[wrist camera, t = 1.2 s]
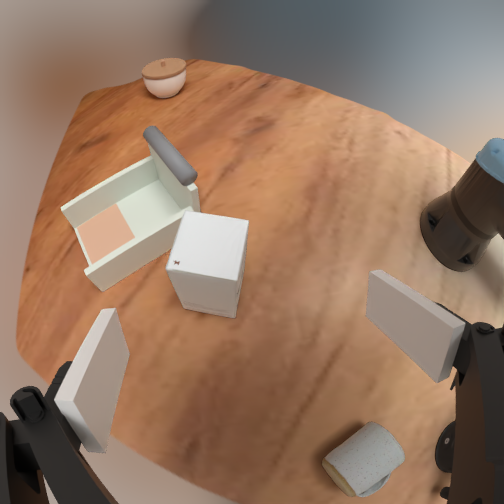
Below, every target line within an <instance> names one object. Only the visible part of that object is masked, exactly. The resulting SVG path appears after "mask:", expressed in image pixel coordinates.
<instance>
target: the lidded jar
mask: <svg viewBox="0 0 504 504" xmlns="http://www.w3.org/2000/svg"><path fill="white" fill-rule="evenodd" d="M142 76H143V79H144V83H145V86H146V88H147V89H148V91H149V92H150V93H152V94H153V95H155V96H156V97H158V98H168V97H172V96H174V95H176V94H177V93H178V92H179V90H180V89H181V88H182V87H183V85H184V83H185V79H186V62H185V61H184V60H182V59H178V58H166V59H160V60H157V61H154V62H151V63H149V64H148V65H146V66H145V67H144V68H143V69H142Z"/></svg>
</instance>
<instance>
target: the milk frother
mask: <svg viewBox="0 0 504 504" xmlns="http://www.w3.org/2000/svg"><path fill="white" fill-rule="evenodd" d="M455 426H456V421H454V422H452V423H451V424H450V425H449V426H448V427H447V428H446V429H445V430H444V431H443V433H442V435H441V437H440V439H439V441H438V444H437V447H436V462H437V465H438V467H439V468H440V469H441V470H442V471H444V472H447V473H452V467H453V458H454V445H455ZM449 490H450V487H444V488H443V489H442V490H441V492H440V496H441V497H442V498H444V499H447V500H448V496H449Z"/></svg>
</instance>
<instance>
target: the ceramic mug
mask: <svg viewBox="0 0 504 504" xmlns="http://www.w3.org/2000/svg"><path fill="white" fill-rule="evenodd" d="M404 460H405V454H404V451H403V449H402V447H401V446H400V444H399V443H398V442H397V440H396V439H395V438H394V436H393V435H392V434H391V433H390V432H389V431H388V430H386V429H385V428H384V427H382V426H381V425H379V424H377V423H375V422H368V423H367V424H366V425H364V426H363V427H362V428H361V429H360V430H358V431H357V432H356V433H355V434H353V435H352V436H351V437H350V438H348V439H347V440H346V441H345V442H343V443H342V444H341V445H339V446H338V447H337V448H335V449H334V450H332V451H331V452H330V453H329V454H328V455H327V456H326V457H325V458H324V459H323V461H322V466H323V467H324V469H325V471H326V472H327V473H328V475H329V476H330V477H331V478H332V480H333V481H334V482H335V483H336V485H337V486H338V487H339V488H340V489H341V490H342V491H343V492H344V493H345V494H346V495H347V496H350V497H354V496H359V497H366V496H369V495H371V494H373V493H375V492H376V491H378V490H379V489H380V488H382V487H383V486H384V485H385V483H386V482H387V481H388V479H389V477H390V474H391V472H392V471H393V470H394V469H395V468H397V467H398V466H399V465H400V464H402V463H403V462H404Z"/></svg>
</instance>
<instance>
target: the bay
mask: <svg viewBox="0 0 504 504" xmlns="http://www.w3.org/2000/svg"><path fill="white" fill-rule="evenodd" d="M143 137H144V138H145V139H146V141H147V142H148V145H149V149H150V153H151V156H149V157H147V158H145V159H143V160H141V161H139V162H137V163H135V164H133V165H131V166H130V167H128V168H126V169H124V170H122V171H120V172H118V173H117V174H115V175H113V176H111V177H110V178H108V179H106V180H104V181H103V182H101V183H99V184H97V185H96V186H94V187H92V188H91V189H89V190H87V191H86V192H84V193H82V194H81V195H79V196H78V197H76V198H74V199H73V200H71V201H70V202H68V203H67V204H65V205H64V206H62V207H61V210H62V212H63V214H64V215H65V217H66V218H67V219H68V221H69V222H70V224H71V225H72V226H73V228H74V229H75V232H76V235H77V237H78V240H79V242H80V245H81V247H82V250H83V252H84V254H85V257H86V259H87V261H88V264H89V267H88V268H86V269H85V270H84V272H85V274H86V276H87V277H88V278H89V279H90V280H91V281H92V282H93V283H94V284H95V285H96V286H97V287H98V288H99V289H100V290H101V291H102V292H104V291H105V290H107V289H108V288H110V287H111V286H113V285H115V284H116V283H118V282H119V281H121V280H122V279H124V278H125V277H127V276H129V275H130V274H132V273H133V272H135V271H137V270H138V269H140V268H141V267H143V266H145V265H146V264H148V263H149V262H151V261H153V260H154V259H156V258H157V257H159V256H161V255H162V254H164V253H166V252H167V251H169V250H170V249H172V247H173V244H174V240H175V237H176V234H177V232H178V228H179V225H180V223H181V220H182V217H183V214H184V212H185V210H189V211H194V212H200V213H201V210H200V203H199V195H198V188H197V186H196V185H195V184H194V183H193V182H194V181H195V180H196V178H197V172H196V171H195V170H194V169H193V167H192V166H191V165H190V164H189V163H188V162H187V161H186V160H185V159H184V157H183V156H182V155H181V154H180V153H179V152H178V151H177V150H176V148H175V147H174V146H173V145H172V144H171V143H170V142H169V141H168V140H167V138H166V137H165V136H164V135H163V134H162V133H161V132H160V131H159V129H158V128H157V127H156V126H149V127H148V128H146V129H145V131H144V133H143Z"/></svg>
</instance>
